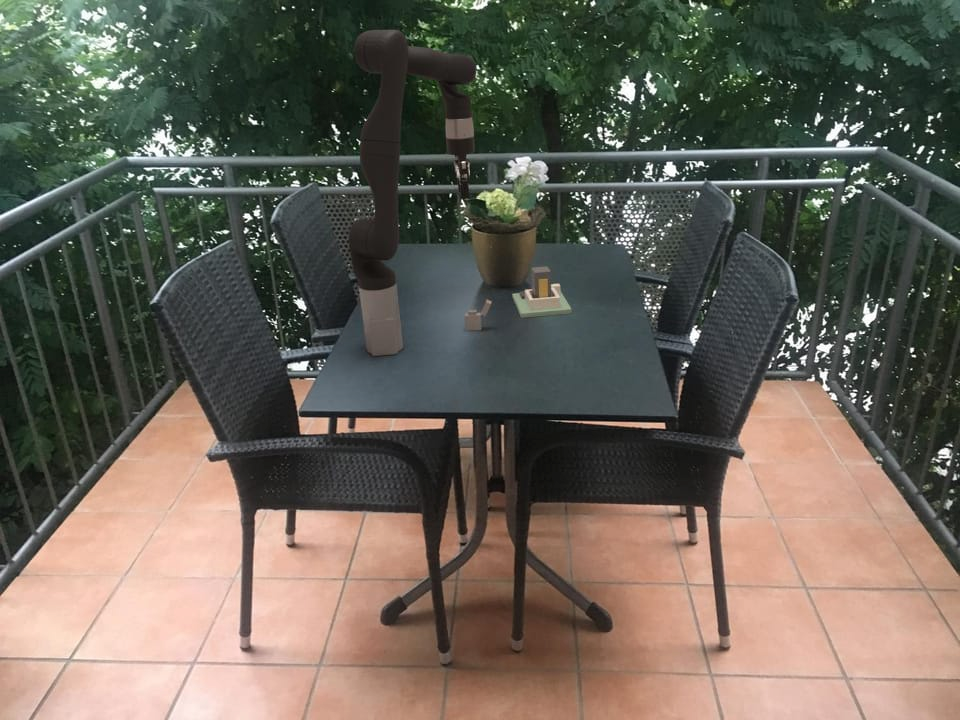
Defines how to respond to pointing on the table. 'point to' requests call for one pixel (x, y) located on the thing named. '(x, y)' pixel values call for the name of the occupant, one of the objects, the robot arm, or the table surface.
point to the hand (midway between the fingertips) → (463, 195)
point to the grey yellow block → (541, 282)
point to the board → (541, 303)
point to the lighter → (476, 317)
